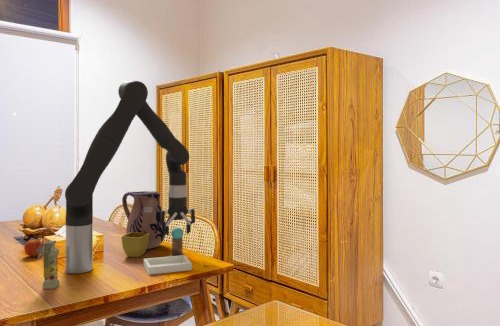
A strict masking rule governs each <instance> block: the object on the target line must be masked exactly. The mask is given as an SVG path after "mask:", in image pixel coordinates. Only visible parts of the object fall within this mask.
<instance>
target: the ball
mask: <svg viewBox="0 0 500 326" xmlns="http://www.w3.org/2000/svg"><path fill="white" fill-rule="evenodd" d="M170 233H171V234H170V235H171V237H172V238H174V239H180V238H182V239H183V236H184V230H183V229H182V228H181V227H177V226H176V227H174V228H173V229H172V230H171V232H170Z"/></svg>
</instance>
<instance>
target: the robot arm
mask: <svg viewBox="0 0 500 326" xmlns="http://www.w3.org/2000/svg"><path fill="white" fill-rule="evenodd" d="M117 91H118V97H119V99H120V100H119V101H118V104H117V106H116V108H115V110H114V111H113V113H112V114H111V115H110V116H109V117H108V118H107V119H106V120H105V122H104V123H102V125H101V126H100V127H99V129H98V131H97V133H96V134H95V136H94V138H93V139H92V141H91V143H90V145H89V147H88V149H87V152H86V154H85V158H84V160H83V163H82V165H81V167H80V168H79V171H78V172H77V173H76V175H75V176H74V178H72V179H73V180H72V181H71V182H70V183H69V184H68V185H67V187H66V188H65V192H64V196H65V197H64V198H65V208H66V209H65V274H83V273H84V274H85V273H87V272H91V271H93V268H94V267H93V265H94V262H93V261H94V260H93V259H94V256H93V255H94V253H93V252H94V247H93V245H94V242H93V241H94V240H93V239H94V237H93V235H94V234H93V228H94V225H93V223H94V222H93V221H94V220H93V218H94V217H93V216H94V214H93V213H94V211H93V208H94V207H93V205H94V203H93V201H94V200H93V198H94V195H93V194H94V192H95V189H96V187H97V185H98V182H99V179H100V178H101V176H102V174H103V173H104V171H105V170H106V168H108V166H109V164H110V163H111V161H112V160H113V158H114V157H115V155H116V153H117V152H118V150H119V148H120V146H121V144H122V141H124V138H125V136H126V134H127V132H128V130H129V129H130V126H131V124H132V122H133V120H134V118H135V117H136V116H137V117H138V118H139V120H140V122H141V123H142V124H143V125H144V126H145V128H146V129H147V131H149V134H150V135H151V136H152V138H153V139H154V140H155V142H156V143H157V144H158V145H159V147H161V149H163V150H166V151H167V152H166V154H165V163H166V167H167V172H168V194H167V195H168V209H167V210H163V209H162V210H161V216H160V224H161V225H164V226H165V234H166V236H170V227H169V225H171V223H172V222H173V221H178V220H179V221H183V220H184V221H185V223H186V225H185V227H186V232H185V233H186V234H187V235H188V234H190V233H191V232H192V231H191V226H192V224H196V215H195V208H189V209H188V190H187V189H188V188H187V173H186V171H185V170H183V168H182V166H183V165H186V164H187V163H188V162H189V161H190V152H189V151H188V148H186V146H185V145H184V144H183V143H182V142H181V141H180V140H178V139H177V138H176V136H174V133H173V132H172V131H171V130H170V128H169V126H168V125H167V124H166V123H165V122H164V120H162V118H161V117H160V116H159V115H158V114H157V113H156V112H155V111H154V110H153V109H152V108H151V106H150V105H149V103H148V102H147V99H148V96H149V91H148V87H147V86H146V84H145V83H143V82H142V81H139V80H125V81H123V82H122V83H121V84H120V85H119V86H118V90H117ZM188 213H189V215H190V219H189V218H188V217H187V215H188ZM167 214H168V218H167V219H166V220H165V222H164V219H165V217H166V215H167Z"/></svg>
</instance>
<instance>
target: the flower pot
mask: <svg viewBox="0 0 500 326" xmlns="http://www.w3.org/2000/svg"><path fill="white" fill-rule="evenodd" d="M149 234H150V233H140V232H130V233H128V234H126V233H125V234H123V235H122V236H121V245H122V249H123V251H124V254H125V255H126V257H129V258H130V257H131V258H140V257H141V256H144V255H145V253H146V251H147V250H148V249H147V247H148V242H149Z"/></svg>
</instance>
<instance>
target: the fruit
mask: <svg viewBox="0 0 500 326" xmlns="http://www.w3.org/2000/svg"><path fill="white" fill-rule="evenodd" d="M43 244H44V243H43V242H42V241H41V240H40V239H36V237H33V238H32V239H30V240H28V241H27V242H25V245H24V253H25V255H28V256H29V257H31V258H35V257H38V254H39V252H40V251H39V252H37V251H36V250H37V249H38V248H39V247H41V246H42V245H43ZM42 248H43V249H44V247H42ZM39 250H41V249H39ZM41 254H42V251H41Z"/></svg>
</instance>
